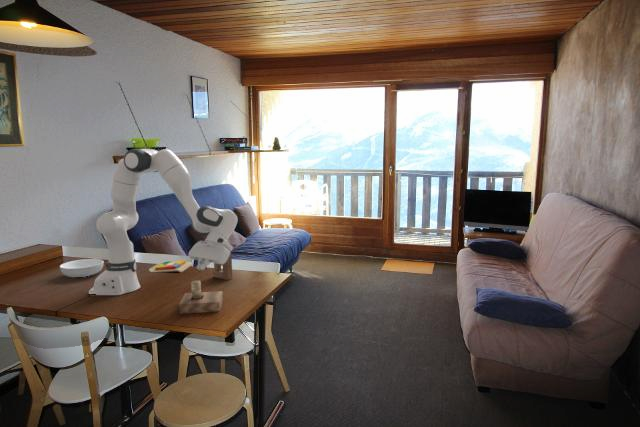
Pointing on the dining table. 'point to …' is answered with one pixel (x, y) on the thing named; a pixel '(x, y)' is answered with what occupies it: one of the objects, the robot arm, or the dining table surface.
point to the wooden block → (226, 271)
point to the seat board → (201, 303)
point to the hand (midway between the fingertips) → (199, 269)
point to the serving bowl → (82, 267)
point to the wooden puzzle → (171, 266)
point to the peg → (196, 290)
